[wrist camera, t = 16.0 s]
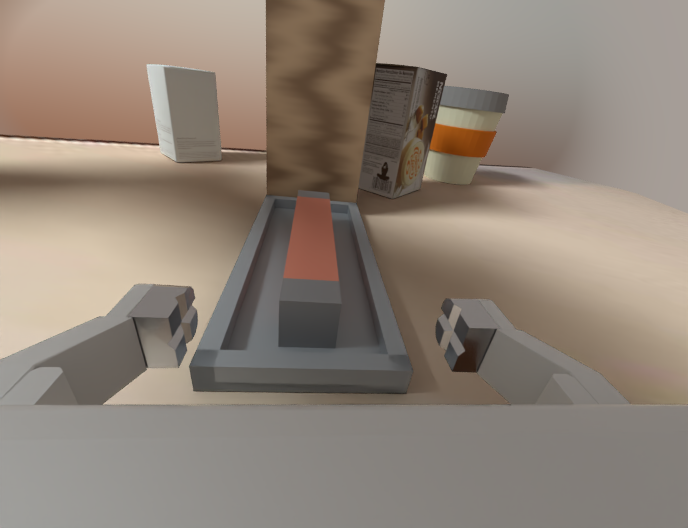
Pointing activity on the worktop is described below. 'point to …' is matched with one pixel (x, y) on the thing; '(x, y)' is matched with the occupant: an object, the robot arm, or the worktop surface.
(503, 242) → the worktop surface
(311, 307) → the bar
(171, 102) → the supplement box
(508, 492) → the robot arm
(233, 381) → the tray
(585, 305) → the worktop surface
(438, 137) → the reusable coffee cup
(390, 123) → the coffee box
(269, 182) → the tall wooden block
